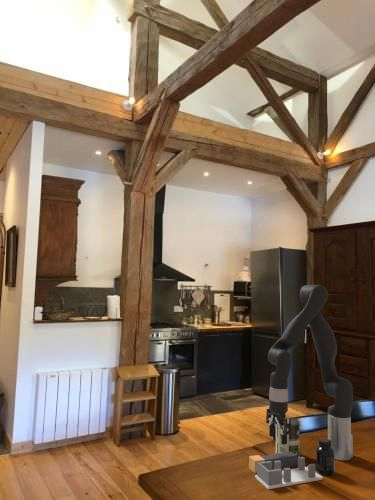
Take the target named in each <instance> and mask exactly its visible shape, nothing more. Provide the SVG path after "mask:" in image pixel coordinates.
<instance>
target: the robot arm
mask: <svg viewBox="0 0 375 500" xmlns="http://www.w3.org/2000/svg"><path fill="white" fill-rule="evenodd" d="M299 298H300V299H299V300H300V302H301V305H302V308H303V309H302V310H301V311H300V312H299V313H298V314H297V315H296V316H295V317H294V318H293V319H292V320H290V322H289V323H288V324H287V325H286V327H285V329H284V330H283V332H282V334H281V337H279V338H278V340H276V342H275V343H274V344H272V346H271V347H270V348H269V350H268V353H267V360H268V363H270V364H271V365H273V366H275V371H272V372H271V373H270V378H269V380H270V381H269V383H270V385H269V392H268V395H269V396H268V398H269V399H268V408H267V409H266V413H265V414H266V416H265V417H266V418H265V423H266V424H268V429H269V430H268V433H269V437H270V438H271V437H276V425H278V427H279V429H280V430H281V433H282V434H281V444H283V445H284V444H287V435H288V434H291V419H290V418H291V417H288V418H286V417H287V416H286V414H287V412H288V411H289V390H288V386H289V385H288V382H289V374H290V371H291V368H292V363H293V360H292V355H291V354H290V352H289V350H291V349H295V348H296V347H297V345H298V343H299V342H300V340H301V338H302V336H303V335H304V334H305V331H306V330H307V328H308V326H309V330H310V332H311V336H312V341H313V344H314V348H315V351H316V355H317V360H318V363H319V368H320V373H321V379H322V386H323V388H324V391H325V393H326V394H327V395H328V396H330V397H331V398H332V397H333V398H334V403H333V404H332V405H329V406H328V407H327V439H329V440H331V444H332V446H331V447H332V448H333V449H334V458H335V460H336V461H337V460H338V461H344V462H345V461H350V460H351V459H353V458H354V442H353V441H354V438H353V436H354V435H353V434H352V433H351V431H352V429H351V427H352V425H351V423H352V421H351V419H352V418H351V413H352V411H353V407H354V406H353V403H354V402H353V400H354V388H353V385H352V383H351V381H350V380H349V379H347V378H344V377H342V376H339V375H338V373H337V369H336V366H335V360H336V356H337V352H338V344H337V339H336V336H335V332H334V331H333V329H332V328H331V326H330V324H329V323H328V322H327V320H326V319H325V317H324V316H323V314H322V312H321V310H322V308H323V307H324V305H325V304H326V302H327V301H328V298H329V292H328V289H327V288H326V286H323V285H322V284H321V285H320V284H304V285H303V286H301V287H300V291H299ZM283 424H284V426H282V425H283ZM287 428H288V430H287ZM283 429H284V431H283Z"/></svg>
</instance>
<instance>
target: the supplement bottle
mask: <svg viewBox="0 0 375 500" xmlns="http://www.w3.org/2000/svg"><path fill="white" fill-rule="evenodd" d="M331 446H332V444H331V440H329V439H328V438H326V437H325V438H324V437H321V438H319V439H318V446H316V448H315V452H316V453H315V455H316V456H315V457H316V458H315V459H316V460H315V461H316V464H315V469H316V473H318V474H319V475H321V476H327V477H328V476H329V477H330V476H331V477H332V476H333V475H335V472H336V469H335V467H336V465H335V462H336V461H335V460H336V459H335V458H334V449H333V448H332V447H331Z"/></svg>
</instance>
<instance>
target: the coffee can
mask: <svg viewBox="0 0 375 500" xmlns="http://www.w3.org/2000/svg"><path fill="white" fill-rule="evenodd" d="M286 418H290V419H291V434H288V435H287V444H284V445H283V444H281V434H282V433H281V430H280V429H279V427H278V425H276V424H275V453H274V454H279V453H286V452H294V453H295V454H297V460H298V457H301V455H300V450H301V449H300V425H301V424H300V423H301V422H300V421H299V420H298V419H296V418H292V417H287V416H286ZM282 426H284V424H283V425H282ZM287 430H288V428H287ZM283 431H284V429H283Z"/></svg>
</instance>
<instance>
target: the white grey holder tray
mask: <svg viewBox="0 0 375 500" xmlns="http://www.w3.org/2000/svg"><path fill="white" fill-rule="evenodd" d="M254 478H255V479H256V480H257V481H258V482H259V483H261V485H262V486H264V487H265V488H266V489H267V490H273V489H276V488H282V487H283V488H284V487H289V486H295V485H299V484H305V483H311V482H316V481H322V480H324V477H323V475H321V474H320V473H318V472H317V471H316V464H315V463H310V464H307V466H306V457H305V456H300V457H298V459H297V468H290V467H284V468H281V461H274V469H272V462H271V461H266V462H259V463H257V473H256V475H254Z"/></svg>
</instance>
